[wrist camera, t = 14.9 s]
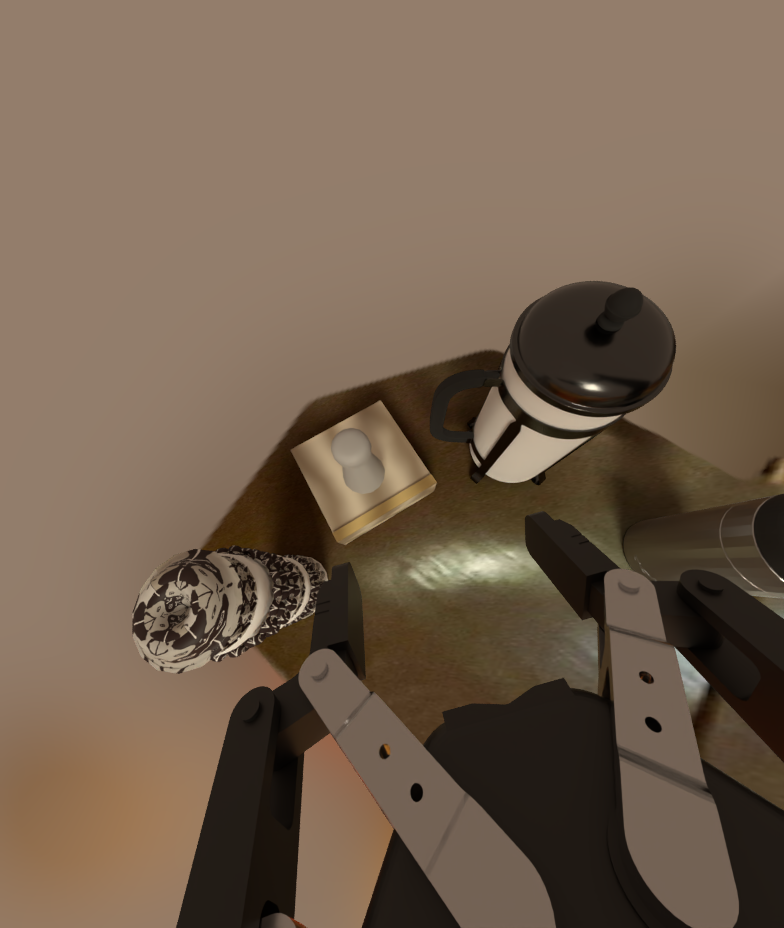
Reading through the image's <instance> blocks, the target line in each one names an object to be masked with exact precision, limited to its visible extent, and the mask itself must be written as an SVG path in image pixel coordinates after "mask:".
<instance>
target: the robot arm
mask: <svg viewBox="0 0 784 928" xmlns="http://www.w3.org/2000/svg"><path fill="white" fill-rule="evenodd" d="M525 540H526V546H527V549H528V551H529V553H530V555H531V556H532V558H533V559H534V560H535V561H536V563H537V564H538V565H539V566H540V568H541V569H542V570H543V571H544V573H545V574H546V575H547V576H548V578H549V579H550V580H551V581H552V583H553V584H554V585H555V587H556V588H557V589H558V590H559V592H560V593H561V594H562V595H563V597H564V598H565V599H566V600H567V602H568V603H569V604H570V605H571V607H572V608H573V609H574V610H575V612H576V613H577V614H578V616H579V617H580V618H581V619H582V620H585V619H588V618H592V617H593V618H594V619H595V620H596V622H597V623H598V627H597V634H598V670H599V679H598V695H597V694H595V693H592V692H589V691H585V690H581V689H575V688H570V687H569V686H568V684H567V682H566V681H565V679H564V678H562V679H558V680H554V681H551V682H547V683H544V684H540V685H537V686H534V687H532V688H531V689H529V690H528V691H527V692H525V693H524V694H522V695H521V696H519V697H518V698H517V699H515V700H514V701H512V702H511V703H509V704H506V705H499V704H469V705H465V706H462V707H458V708H455V709H451V710H448V711H444V712H442V713H443V717H444V721H445V722H444V723H443V724H441V725H440V726H439V727H438V728H437V729H436V730H434V731H433V732H432V734H431V735H430V736H429V737H428V739H427V740H426V742H425V743H424V745H422V744H421V743H420V742H419V741H418V740H417V739H416V737H415V736H414V735H413V734H412V733H411V732H410V731H409V730H408V729H407V727H406V726H405V725H404V724H403V723H402V722H401V721H400V720H399V719H398V717H397V716H396V715H395V714H394V713H393V712H392V711H391V710H390V709H389V707H388V706H387V705H386V704H385V703H384V702H383V701H382V700H381V699H380V697H379V696H378V695H377V694H375V693H374V692H370V691H369V690H368V689H367V688H366V687H365V686H364V685H363V683H362V682H361V681H360V680H363V679H366V675H365V654H364V633H363V611H362V596H361V591H360V587H359V584H358V582H357V579H356V576H355V574H354V571H353V569H352V566H351V564H350V562H348V563H344V564H341V565H337V566H333V568H332V578H331V580H329V581H325V582H323V583H322V585H321V587H320V589H319V591H318V593H317V599H316V607H315V616H314V624H313V633H312V641H311V649H310V655H309V657H308V658H307V659H306V660H305V662H304V663H303V665H302V667H301V669H300V672H299V673H298V674H297V675H296V676H295V677H293V678H292V679H291V680H289V681H287V682H286V683H284V684H283V685H281V686H279V687H278V688H276V689H275V690H273V691H272V690H271V689H270V688H268V687H264V686H262V687H257V688H254V689H252V690H251V691H249V692H248V693H247V694H245V695H244V696H243V697H242V698H241V699H240V701H239V702H238V703H237V705H236V706H235V708H234V710H233V712H232V714H231V717H230V720H229V724H228V728H227V732H226V736H225V740H224V744H223V747H222V751H221V755H220V759H219V763H218V767H217V771H216V775H215V779H214V783H213V786H212V790H211V794H210V798H209V802H208V806H207V810H206V814H205V818H204V822H203V825H202V829H201V833H200V837H199V841H198V845H197V849H196V852H195V856H194V860H193V864H192V868H191V872H190V876H189V880H188V884H187V888H186V891H185V895H184V899H183V903H182V907H181V911H180V915H179V919H178V922H177V926H176V928H306V926H304V925H303V924H301V923H300V922H298V921H296V920H294V914H295V897H296V879H297V864H298V847H299V829H300V813H301V797H302V781H303V764H304V752H305V751H306V750H307V749H309V748H310V747H312V746H313V745H314V744H316V743H317V742H318V741H320V740H321V739H322V738H324V737H325V736H326V735H328V734H329V733H331V735H332V736H333V738H334V739H335V741H336V742H337V744H338V745H339V747H340V748H341V750H342V751H343V753H344V754H345V756H346V757H347V759H348V760H349V762H350V763H351V765H352V766H353V768H354V770H355V771H356V772H357V774H358V776H359V777H360V779H361V780H362V782H363V783H364V785H365V786H366V788H367V789H368V791H369V792H370V794H371V795H372V797H373V798H374V800H375V801H376V803H377V804H378V806H379V807H380V809H381V810H382V812H383V814H384V815H385V817H386V818H387V819H388V821H389V823H390V824H391V826H392V827H393V828H394V830H393V833H392V836H391V839H390V843H389V846H388V848H387V852H386V855H385V858H384V861H383V864H382V867H381V870H380V873H379V876H378V880H377V882H376V885H375V888H374V891H373V894H372V898H371V901H370V904H369V907H368V910H367V913H366V916H365V919H364V922H363V925H362V928H784V810H782V809H780V808H779V807H777V806H776V805H774V804H772V803H771V802H769V801H768V800H766V799H765V798H763V797H761V796H760V795H758V794H757V793H755V792H754V791H752V790H750V789H749V788H747V787H746V786H744V785H743V784H741V783H739V782H738V781H736V780H735V779H733V778H732V777H730V776H728V775H727V774H725V773H724V772H722V771H721V770H719V769H717V768H716V767H714V766H713V765H711V764H710V763H708V762H706V761H705V760H703V759H702V758H700V755H699V751H698V747H697V742H696V738H695V734H694V729H693V725H692V721H691V716H690V712H689V707H688V703H687V699H686V694H685V690H684V686H683V681H682V677H681V673H680V668H679V664H678V660H677V655H676V651H675V648H676V649H677V650H678V651H679V652H680V653H681V654H682V655H683V656H684V657H685V658H686V659H687V660H688V661H689V662H690V664H691V665H692V666H693V667H694V668H695V669H696V670H697V671H698V672H699V673H700V674H701V675H702V676H703V677H704V678H705V679H706V681H707V682H708V683H709V684H710V685H711V686H712V687H713V688H714V689H715V690H716V691H717V692H718V693H719V694H720V695H721V696H722V698H723V699H724V700H725V701H726V702H727V703H728V704H729V705H730V706H731V707H732V708H733V709H734V710H735V711H736V712H737V713H738V715H739V716H740V717H741V718H742V719H743V720H744V721H745V722H746V723H747V724H748V725H749V726H750V727H751V728H752V729H753V730H754V732H755V733H756V734H757V735H758V736H759V737H760V738H761V739H762V740H763V741H764V742H765V743H766V744H767V745H768V746H769V747H770V749H771V750H772V751H773V752H774V753H775V754H776V755H777V756H778V757H779V758H780V759H781V760H782V761H783V762H784V619H783V618H782V617H780V616H779V615H777V614H776V613H775V612H773V611H772V610H770V609H769V608H768V607H766V606H765V605H763V604H762V603H761V602H759V601H758V600H756V599H755V598H754V597H752V596H763V597H774V598H784V494H780V495H775V496H770V497H765V498H759V499H754V500H749V501H744V502H739V503H734V504H729V505H723V506H718V507H713V508H707V509H702V510H697V511H692V512H686V513H681V514H676V515H670V516H665V517H659V518H654V519H649V520H643V521H640V522H637V523H635V524H634V525H632V526H631V527H630V528H629V529H628V530H627V532H626V534H625V537H624V542H623V548H624V553H625V557H626V559H627V561H628V563H629V565H630V566H631V568H632V569H633V570H634V571H635V572H634V571H631V570H627V569H621V568H619V567H618V566H617V565H616V564H615V563H614V562H613V561H611V560H610V559H609V558H608V557H607V556H606V555H605V554H604V553H602V552H601V551H600V550H599V549H598V548H597V547H596V546H595V545H594V544H592V543H591V542H589V540H588V539H587V538H586V537H585V536H583V535H582V534H581V533H580V532H579V531H578V530H577V529H576V528H574V527H573V526H572V525H570V524H568V523H566V522H564V521H562V520H560V519H559V520H555V521H554V520H553V519H552V518H551V517H550V516H549V515H548V514H547V513H546V512H544V511H542V512H538V513H534V514H531V515H527V516H526V517H525ZM674 647H675V648H674Z"/></svg>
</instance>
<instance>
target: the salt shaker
mask: <svg viewBox="0 0 784 928" xmlns="http://www.w3.org/2000/svg"><path fill="white" fill-rule="evenodd" d="M371 447H372V446H371V443H370V441H369V438H368V436H367V435H366V434H365V433H363V432H362V431H361V430H359V429H355V428H348V429H343V430H342V431H340V432H339V433H337V434H336V436H335V437H334V439H333V440H332V444H331V451H332V454H333V457H334V459H335V460H336V461H337V462H338V463H339V464H340V465H341V466H342V470H343V478H344V481H345V484H346V486H348V487H349V488H350V489H351V490H352V491H354V492H357V493H361V494H366V493H371V492H373V491H375V490H376V489H377V488H379V487H380V485H381V484H382V482H383V480H384V473H385V468H384V466H383V464H382V462H381V460H380V459H378V458H377V457H376V456H375V455H374V454H373V453H372V452H371Z"/></svg>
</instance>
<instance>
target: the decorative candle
mask: <svg viewBox="0 0 784 928" xmlns="http://www.w3.org/2000/svg"><path fill="white" fill-rule="evenodd" d="M325 581H328V577H327V572H326V571H325V569H324V568H323V566H322V565H321V563H319V562H318V561H316V560H315V559H313V558H311V557H304V556H299V555H296V556H295V555H285V556H281V555H276V554H274V553H271V554H270V553H268V552H261V551H259V550H252V549H249V548H241V547H239V546H231V547H230V548H229V549H226V548H220V549H218V550H216V551H215V552H214V551H207V550H198V549H193V550H190V551H187V552H184V553H180V554H177V555H174V556H173V557H171V558H170V559H169V560H167V561H166V562H164V563H163V564H162V565H160V566H159V567H158V568H156V569H155V570H154V572H153V573H152V575H151V576H150V577H149V579H148V580H147V581H146V583H145V584H144V585H143V587H142V588H141V590H140V593H139V596H138V599H137V601H136V605H135V607H134V610H133V635H132V636H133V639H134V641H135V643H136V646H137V648H138V651H139V653H140V656H141V657H142V658H143V659H144V660H146V661H147V662H148V663H149V664H150V665H152V666H153V667H154V668H156V669H157V670H159V671H166V672H172V673H178V674H179V673H182V672H186V671H189V670H192V669H195V668H199V667H202V666H203V665H204V664H206V663H207V662H208V661H209V660H212V661H215V662H220V661H222V660H223V659H224V658H225V657H226V655H228V656H229V657H238V656H240V655H241V654H242V653H243V652H245V651H247V650H248V649H249V648H251V647H254V646H255V645H259V644H260V643H262V642H263V640H264V639H265V638H266V637H269V636H271V635H274V634H276V633H277V632H278V631H279V630H280V629H281V628H282V627H287V626H288V625H290V624H293V623H296V622H298V621H300V620H302V619H304V618H306V617H308V616H310V615H311V614H313V613H314V612H315V607H316V599H317V593H318V591H319V589H320V587H321V585H322V583H323V582H325Z"/></svg>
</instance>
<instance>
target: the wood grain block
mask: <svg viewBox="0 0 784 928" xmlns="http://www.w3.org/2000/svg"><path fill="white" fill-rule="evenodd" d="M348 428H355V429H359V430H361V431H362V432H363V433H365V434H366V435H367V436H368V438H369V441H370V443H371V446H372V447H371V452H372V453H373V454H374V455H375V456H376V457H377V458H378V459H380V460H381V462H382V464H383V466H384V468H385V473H384V480H383V482H382V484H381V485H380V487H379V488H377V489H376V490H375V491H373V492H371V493H366V494H361V493H357V492H354V491H352V490H351V489H350V488H349V487H348V486H346V484H345V481H344V478H343V470H342V466H341V465H340V464H339V463H338V462H337V461H336V460H335V459H334V457H333V454H332V451H331V444H332V440H333V439H334V437H335V436H336V434H337V433H339V432H340V431H342V430H343V429H348ZM291 452H292V454H293V456H294V458H295V460H296V462H297V464H298V466H299V468H300V470H301V471H302V473H303V475H304V477H305V479H306V481H307V483H308V485H309V487H310V489H311V491H312V493H313V495H314V497H315V499H316V501H317V503H318V505H319V507H320V509H321V511H322V513H323V514H324V516H325V518H326V520H327V522H328V524H329V526H330V528H331V530H332V532H333V535H334V537H335V539H336V541H337V542H338V543H341V544H345V545H346V544H348V543H349V542H351V541H352V540H354V539H356V538H357V537H359V536H361V535H362V534H364V533H366V532H367V531H369V530H371V529H372V528H374V527H376V526H377V525H379V524H381V523H382V522H384V521H386V520H387V519H389V518H390V517H392V516H394V515H395V514H397V513H399V512H400V511H402V510H404V509H405V508H407V507H409V506H410V505H412V504H414V503H415V502H417V501H419V500H420V499H422V498H423V497H425V496H427V495H428V494H430V493H432V492H433V491H434V489H435V486H436V483H437V482H436V481H435V479H434V478H433V476H432V475H431V474H430V473H429V471H428V470H427V468H426V467H425V465H424V464H423V462H422V461H421V459H420V458H419V456H418V455H417V453H416V452H415V451H414V449H413V448H412V446H411V445H410V443H409V442H408V440H407V439H406V437H405V436H404V434H403V433H402V431H401V430H400V428H399V427H398V425H397V424H396V422H395V421H394V419H393V418H392V416H391V415H390V413H389V412H388V410H387V409H386V407H385V406H384V404H383V403H382V402H381V400H380V401H378V402H377V403H375V404H373V405H371V406H369V407H367V408H366V409H364V410H362V411H360V412H358V413H357V414H355V415H353V416H351V417H349V418H347V419H346V420H344V421H342V422H340V423H338V424H337V425H335V426H333V427H331V428H329V429H327V430H326V431H324V432H322V433H320V434H318V435H317V436H315V437H313V438H311V439H309V440H307V441H306V442H304V443H302V444H300V445H298V446H297V447H295V448H293V449H291Z"/></svg>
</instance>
